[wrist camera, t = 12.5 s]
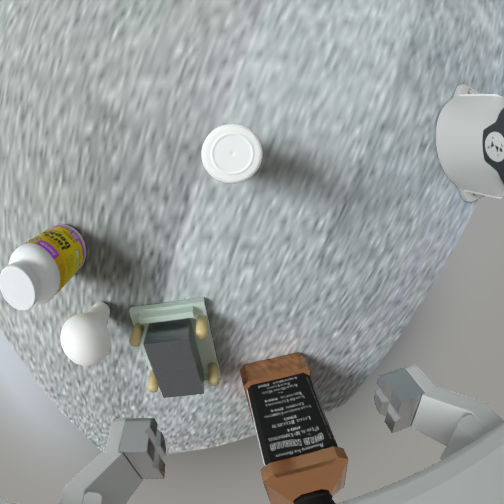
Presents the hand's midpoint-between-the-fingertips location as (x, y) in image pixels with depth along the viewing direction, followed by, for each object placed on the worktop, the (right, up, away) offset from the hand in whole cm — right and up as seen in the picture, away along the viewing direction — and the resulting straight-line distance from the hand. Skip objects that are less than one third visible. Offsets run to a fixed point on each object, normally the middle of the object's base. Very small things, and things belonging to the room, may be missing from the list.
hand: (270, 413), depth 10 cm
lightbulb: (-21, -2, +29) cm, 35 cm away
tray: (-11, -7, +32) cm, 34 cm away
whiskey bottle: (+3, -15, +37) cm, 40 cm away
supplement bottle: (-25, +6, +26) cm, 36 cm away
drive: (-11, -7, +31) cm, 33 cm away
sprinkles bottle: (-4, +17, +25) cm, 30 cm away
